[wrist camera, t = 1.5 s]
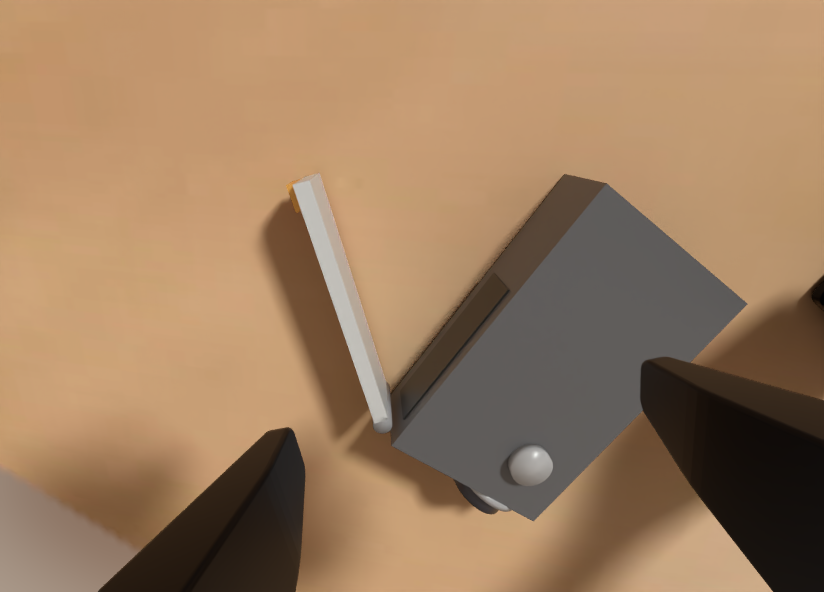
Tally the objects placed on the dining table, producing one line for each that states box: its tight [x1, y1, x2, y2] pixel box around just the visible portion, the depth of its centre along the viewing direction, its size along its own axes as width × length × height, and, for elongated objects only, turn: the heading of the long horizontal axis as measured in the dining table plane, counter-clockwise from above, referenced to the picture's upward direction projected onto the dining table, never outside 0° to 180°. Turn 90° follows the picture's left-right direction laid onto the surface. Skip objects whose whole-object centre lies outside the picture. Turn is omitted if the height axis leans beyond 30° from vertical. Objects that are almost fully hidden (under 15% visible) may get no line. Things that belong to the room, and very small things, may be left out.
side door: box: [286, 173, 392, 434], centre depth 18 cm, size 11×1×3 cm, turn 14°
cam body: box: [390, 174, 747, 521], centre depth 19 cm, size 14×8×4 cm, turn 144°
